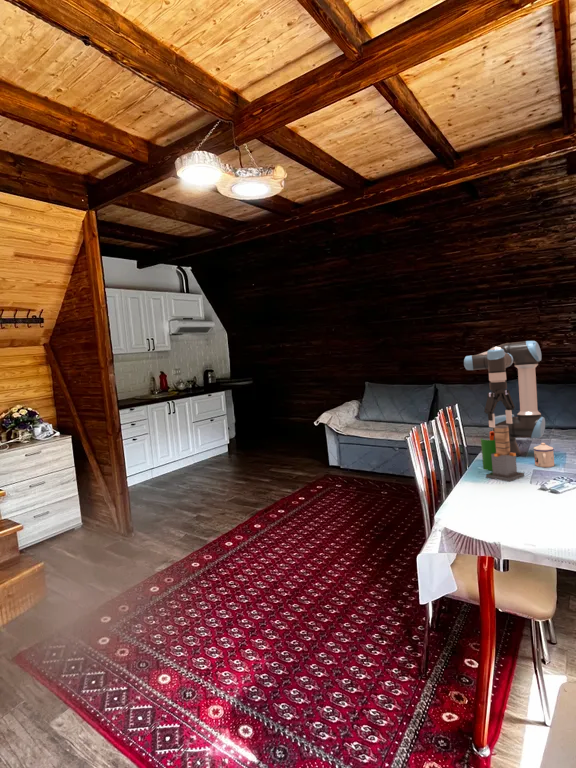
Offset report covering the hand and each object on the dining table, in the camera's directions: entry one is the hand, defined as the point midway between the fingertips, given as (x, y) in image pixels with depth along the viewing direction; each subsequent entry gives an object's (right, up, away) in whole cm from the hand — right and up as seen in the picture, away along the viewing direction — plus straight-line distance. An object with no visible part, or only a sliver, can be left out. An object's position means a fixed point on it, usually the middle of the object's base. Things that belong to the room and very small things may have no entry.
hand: (500, 425), depth 210 cm
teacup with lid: (+29, -22, +13) cm, 39 cm away
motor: (+5, -24, +17) cm, 30 cm away
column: (+2, -23, +1) cm, 23 cm away
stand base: (+3, -25, +1) cm, 25 cm away
